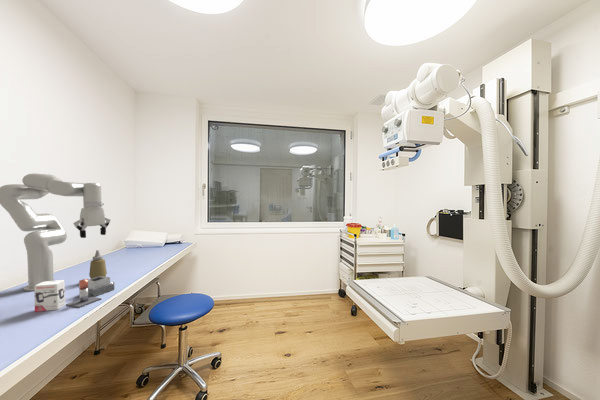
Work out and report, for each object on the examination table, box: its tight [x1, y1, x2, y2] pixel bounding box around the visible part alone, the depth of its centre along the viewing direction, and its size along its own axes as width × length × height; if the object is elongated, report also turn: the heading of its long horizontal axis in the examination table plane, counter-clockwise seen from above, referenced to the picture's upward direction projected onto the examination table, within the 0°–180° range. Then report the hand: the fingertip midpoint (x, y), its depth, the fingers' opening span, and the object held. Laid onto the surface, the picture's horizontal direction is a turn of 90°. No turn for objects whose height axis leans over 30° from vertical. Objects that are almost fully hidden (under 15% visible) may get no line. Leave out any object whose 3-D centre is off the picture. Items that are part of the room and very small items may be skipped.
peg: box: [78, 278, 88, 303], centre depth 111 cm, size 3×3×10 cm
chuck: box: [87, 276, 115, 297], centre depth 124 cm, size 10×13×7 cm
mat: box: [65, 296, 102, 309], centre depth 111 cm, size 9×9×1 cm
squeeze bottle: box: [88, 250, 108, 279], centre depth 140 cm, size 8×8×18 cm
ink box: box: [33, 279, 66, 313], centre depth 105 cm, size 8×5×12 cm, turn 103°
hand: (93, 236), depth 129 cm, fingers open, 9 cm apart
